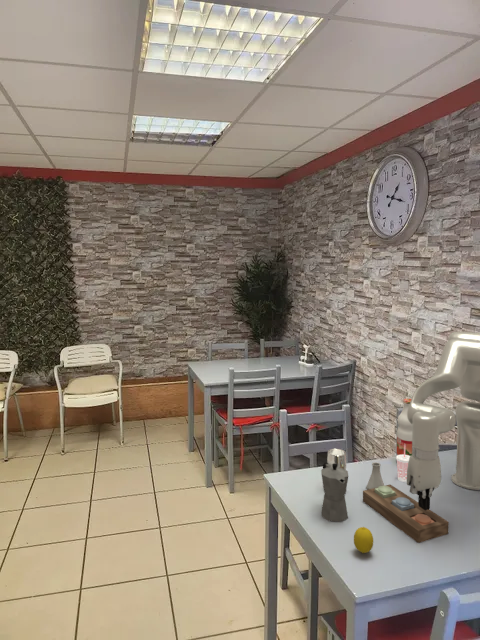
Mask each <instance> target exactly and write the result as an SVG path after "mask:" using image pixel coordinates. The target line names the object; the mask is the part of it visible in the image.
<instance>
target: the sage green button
mask: <svg viewBox="0 0 480 640" xmlns="http://www.w3.org/2000/svg"><path fill="white" fill-rule="evenodd" d="M375 493H376V494H378V495H379V496H381V497H382V498H388V497H392V496H396V492H395V491H393V490H392V489H391V488H390V487H388V486H379V487H378V488H375Z"/></svg>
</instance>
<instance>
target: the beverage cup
mask: <svg viewBox="0 0 480 640" xmlns="http://www.w3.org/2000/svg"><path fill="white" fill-rule="evenodd" d="M409 458H410V456H409V455H405V445H404V455H403V454H402V455H397V454H396V459H397V461H396V466H397V467H396V468H397V480H398V481H399V482H401V483H407V468H408V462H409Z"/></svg>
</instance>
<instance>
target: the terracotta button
mask: <svg viewBox="0 0 480 640" xmlns="http://www.w3.org/2000/svg"><path fill="white" fill-rule="evenodd" d="M411 518H412V519H414V520H415V521H417V522H418V523H419V524H421V525H422V526H423V525H427V524H430V523H434V521H433V520H431V518H430V517H429V516H427V515H424V514H417V515H415V516H414V517H411Z"/></svg>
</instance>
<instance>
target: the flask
mask: <svg viewBox="0 0 480 640" xmlns="http://www.w3.org/2000/svg"><path fill="white" fill-rule="evenodd" d="M371 466H372V469H371V474H370V477H369V479H368V482H367V484H366V486H365V490H368V489H373V488H377V487H379V486H385V482H384V480H383V478H382V474H381V463H380V462H377V461H376V462H375V461H374V462H372V463H371Z"/></svg>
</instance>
